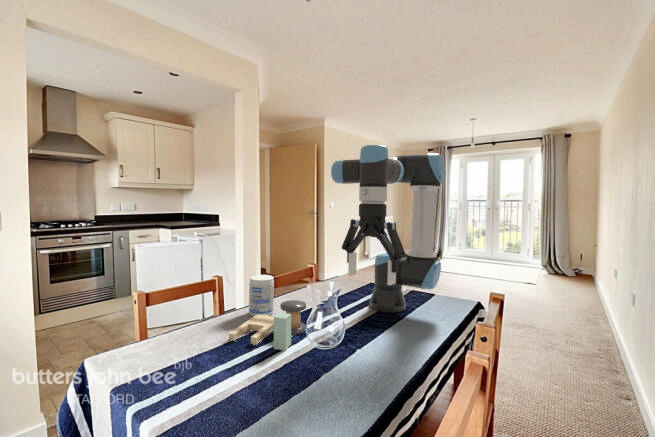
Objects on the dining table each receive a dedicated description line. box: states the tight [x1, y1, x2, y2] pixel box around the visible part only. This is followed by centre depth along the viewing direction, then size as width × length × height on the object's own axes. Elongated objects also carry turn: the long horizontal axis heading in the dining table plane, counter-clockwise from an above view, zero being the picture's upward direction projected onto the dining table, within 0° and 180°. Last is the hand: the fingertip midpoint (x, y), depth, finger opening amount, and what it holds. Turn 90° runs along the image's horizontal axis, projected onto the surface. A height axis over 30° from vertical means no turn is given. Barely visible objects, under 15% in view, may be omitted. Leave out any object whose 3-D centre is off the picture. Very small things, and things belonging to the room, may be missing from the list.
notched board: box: [228, 314, 276, 346], centre depth 109 cm, size 18×10×2 cm, turn 163°
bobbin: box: [279, 299, 307, 336], centre depth 111 cm, size 9×9×9 cm
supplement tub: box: [248, 274, 275, 317], centre depth 126 cm, size 10×10×15 cm
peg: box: [273, 312, 292, 352], centre depth 98 cm, size 4×4×10 cm
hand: (370, 279), depth 88 cm, fingers open, 13 cm apart
